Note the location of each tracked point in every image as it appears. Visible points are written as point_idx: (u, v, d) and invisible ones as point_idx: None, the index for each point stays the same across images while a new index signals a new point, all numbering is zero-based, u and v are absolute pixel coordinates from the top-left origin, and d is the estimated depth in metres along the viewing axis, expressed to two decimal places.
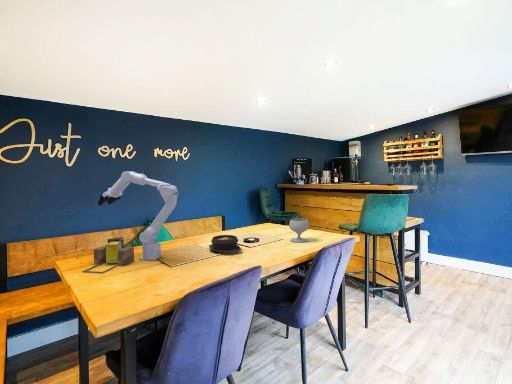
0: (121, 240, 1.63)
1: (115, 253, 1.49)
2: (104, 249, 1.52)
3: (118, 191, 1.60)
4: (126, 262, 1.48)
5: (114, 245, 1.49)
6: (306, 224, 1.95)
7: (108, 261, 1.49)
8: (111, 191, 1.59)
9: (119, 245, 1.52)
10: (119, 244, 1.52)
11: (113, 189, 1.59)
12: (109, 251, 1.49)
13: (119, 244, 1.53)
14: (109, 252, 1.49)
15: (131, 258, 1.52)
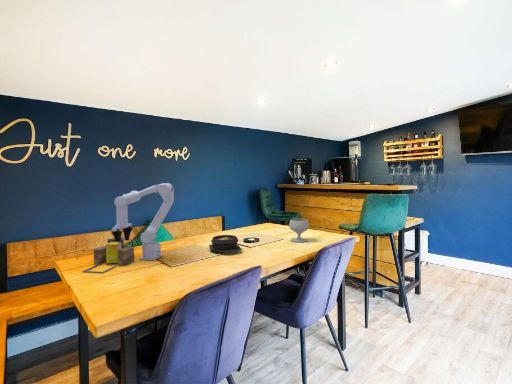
0: (121, 240, 1.63)
1: (115, 253, 1.49)
2: (104, 249, 1.52)
3: (123, 219, 1.57)
4: (126, 262, 1.48)
5: (114, 245, 1.49)
6: (306, 224, 1.95)
7: (108, 261, 1.49)
8: (118, 224, 1.56)
9: (119, 245, 1.52)
10: (119, 244, 1.52)
11: (118, 221, 1.56)
12: (109, 251, 1.49)
13: (119, 244, 1.53)
14: (109, 252, 1.49)
15: (131, 258, 1.52)
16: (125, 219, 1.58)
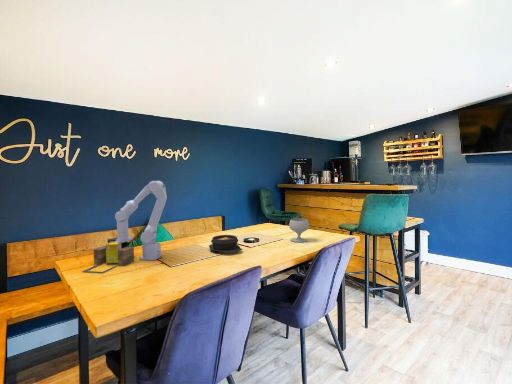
0: None
1: (115, 253, 1.49)
2: (104, 249, 1.52)
3: (124, 234, 1.57)
4: (126, 262, 1.48)
5: (114, 245, 1.49)
6: (306, 224, 1.95)
7: (108, 261, 1.49)
8: (119, 238, 1.57)
9: (119, 245, 1.52)
10: (119, 244, 1.52)
11: (119, 235, 1.57)
12: (109, 251, 1.49)
13: (119, 244, 1.53)
14: (109, 252, 1.49)
15: (131, 258, 1.52)
16: (126, 233, 1.58)
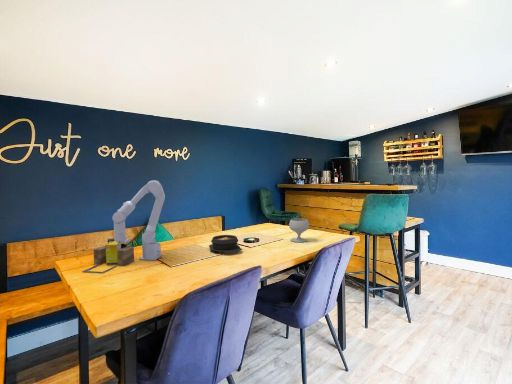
0: None
1: (114, 254, 1.49)
2: (104, 249, 1.52)
3: (121, 235, 1.55)
4: (126, 262, 1.48)
5: (113, 245, 1.48)
6: (306, 224, 1.95)
7: (108, 261, 1.49)
8: (116, 240, 1.54)
9: (118, 245, 1.51)
10: (119, 244, 1.52)
11: (116, 237, 1.54)
12: (109, 251, 1.48)
13: (119, 243, 1.52)
14: (109, 252, 1.49)
15: (131, 258, 1.52)
16: (123, 235, 1.56)
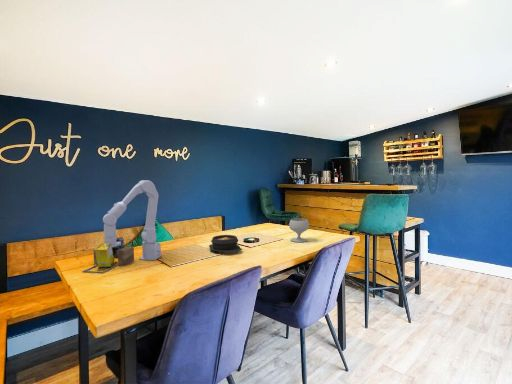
0: (121, 240, 1.63)
1: (105, 258, 1.42)
2: None
3: (111, 238, 1.47)
4: (126, 262, 1.48)
5: (103, 250, 1.40)
6: (306, 224, 1.95)
7: (99, 265, 1.43)
8: None
9: (109, 248, 1.43)
10: (109, 247, 1.43)
11: (106, 240, 1.46)
12: (99, 256, 1.41)
13: (109, 246, 1.44)
14: (99, 257, 1.41)
15: (131, 258, 1.52)
16: (113, 238, 1.48)
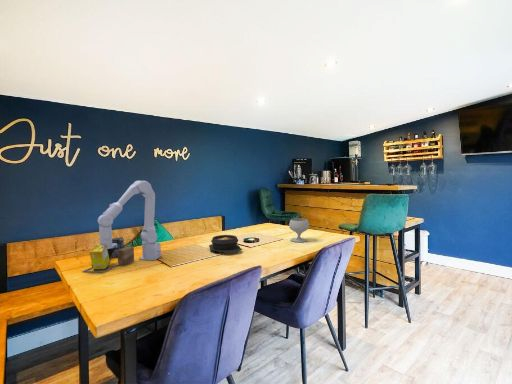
0: (121, 240, 1.63)
1: (100, 260, 1.38)
2: None
3: (107, 240, 1.44)
4: (126, 262, 1.48)
5: (98, 252, 1.37)
6: (306, 224, 1.95)
7: (95, 267, 1.39)
8: None
9: (104, 250, 1.40)
10: (104, 249, 1.40)
11: (101, 242, 1.43)
12: (94, 258, 1.38)
13: (105, 248, 1.40)
14: (94, 259, 1.38)
15: (131, 258, 1.52)
16: (109, 240, 1.44)
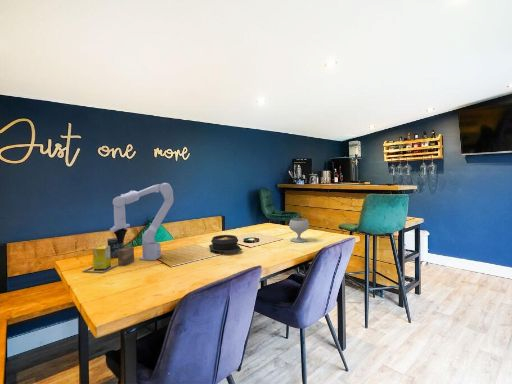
0: None
1: (102, 259, 1.40)
2: None
3: (121, 220, 1.53)
4: (126, 262, 1.48)
5: (101, 250, 1.40)
6: (306, 224, 1.95)
7: (95, 267, 1.40)
8: (116, 225, 1.53)
9: (107, 249, 1.43)
10: (107, 248, 1.43)
11: (116, 221, 1.53)
12: (96, 256, 1.40)
13: (108, 248, 1.43)
14: (96, 257, 1.40)
15: (131, 258, 1.52)
16: (123, 220, 1.54)
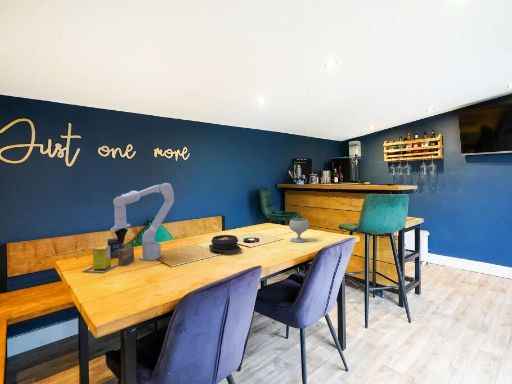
0: None
1: (102, 259, 1.40)
2: None
3: (122, 219, 1.54)
4: (126, 262, 1.48)
5: (101, 250, 1.40)
6: (306, 224, 1.95)
7: (95, 267, 1.40)
8: (117, 224, 1.53)
9: (107, 249, 1.43)
10: (107, 248, 1.43)
11: (117, 221, 1.53)
12: (96, 256, 1.40)
13: (108, 248, 1.43)
14: (96, 257, 1.40)
15: (131, 258, 1.52)
16: (123, 219, 1.55)
